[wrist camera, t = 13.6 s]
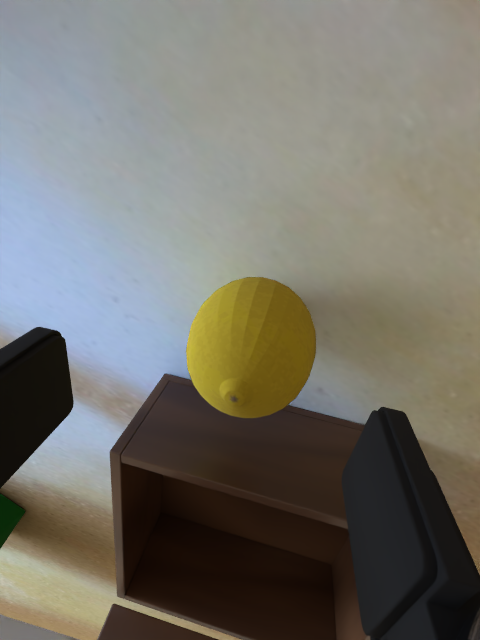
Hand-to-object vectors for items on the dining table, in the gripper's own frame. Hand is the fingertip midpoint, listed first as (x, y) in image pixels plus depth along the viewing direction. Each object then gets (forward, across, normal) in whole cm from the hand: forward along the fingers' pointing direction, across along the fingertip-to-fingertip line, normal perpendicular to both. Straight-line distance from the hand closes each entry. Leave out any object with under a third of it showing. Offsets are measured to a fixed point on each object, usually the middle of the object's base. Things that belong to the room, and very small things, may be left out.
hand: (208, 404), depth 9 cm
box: (+9, -3, +14) cm, 17 cm away
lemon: (+9, -1, 0) cm, 9 cm away
